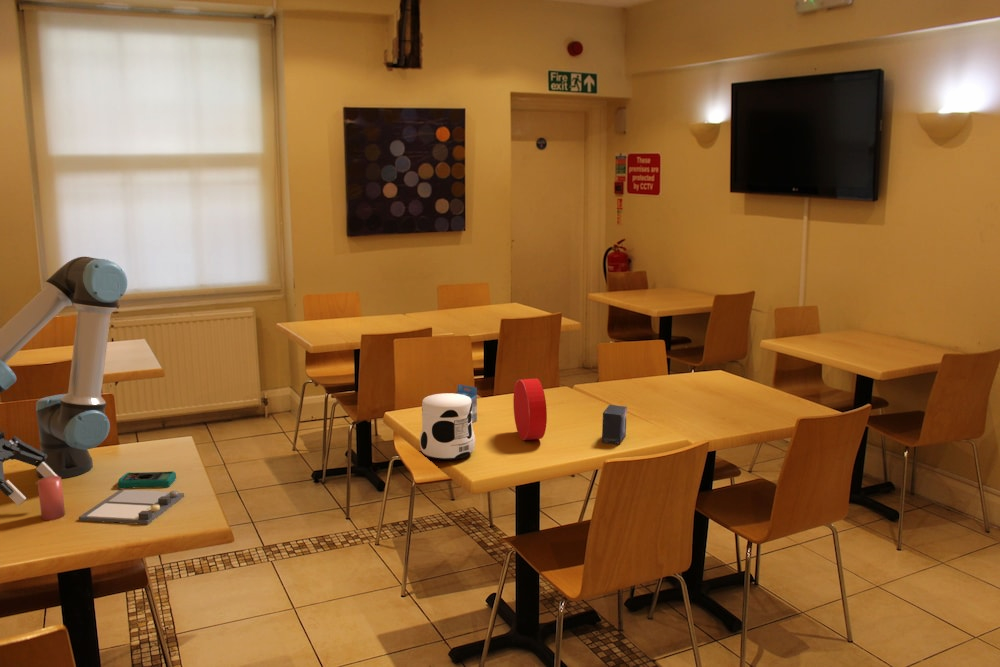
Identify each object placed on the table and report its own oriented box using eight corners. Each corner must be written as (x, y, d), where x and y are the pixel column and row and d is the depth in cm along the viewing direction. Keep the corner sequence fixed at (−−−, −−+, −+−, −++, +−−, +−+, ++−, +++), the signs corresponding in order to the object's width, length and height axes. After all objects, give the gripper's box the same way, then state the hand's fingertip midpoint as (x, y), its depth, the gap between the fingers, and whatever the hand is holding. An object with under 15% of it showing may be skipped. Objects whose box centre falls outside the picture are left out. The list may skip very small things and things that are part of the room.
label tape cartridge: (451, 419, 311) (450, 386, 308) (457, 417, 314) (457, 383, 312) (471, 423, 306) (470, 389, 303) (477, 421, 309) (477, 387, 307)
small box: (620, 445, 282) (621, 414, 280) (601, 443, 285) (601, 412, 282) (627, 435, 292) (627, 405, 290) (607, 434, 294) (608, 404, 292)
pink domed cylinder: (50, 511, 231) (46, 475, 229) (69, 512, 230) (65, 476, 228) (36, 519, 225) (32, 483, 223) (56, 520, 225) (52, 484, 223)
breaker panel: (119, 493, 243) (119, 484, 243) (184, 496, 241) (183, 487, 240) (78, 520, 225) (77, 511, 224) (148, 524, 222) (147, 515, 222)
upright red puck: (546, 446, 281) (547, 386, 277) (529, 448, 280) (529, 388, 276) (529, 428, 300) (530, 372, 296) (513, 429, 299) (513, 373, 295)
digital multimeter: (125, 480, 254) (124, 471, 253) (177, 479, 255) (176, 469, 254) (116, 490, 247) (115, 480, 246) (170, 488, 248) (169, 479, 247)
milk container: (428, 444, 284) (427, 391, 280) (480, 447, 281) (480, 393, 277) (413, 462, 267) (411, 405, 264) (467, 466, 264) (467, 408, 260)
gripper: (6, 428, 238) (62, 483, 238) (-64, 458, 213) (-2, 520, 214) (22, 410, 236) (78, 466, 237) (-47, 439, 212) (15, 501, 212)
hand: (40, 492), depth 225 cm, fingers open, 13 cm apart
